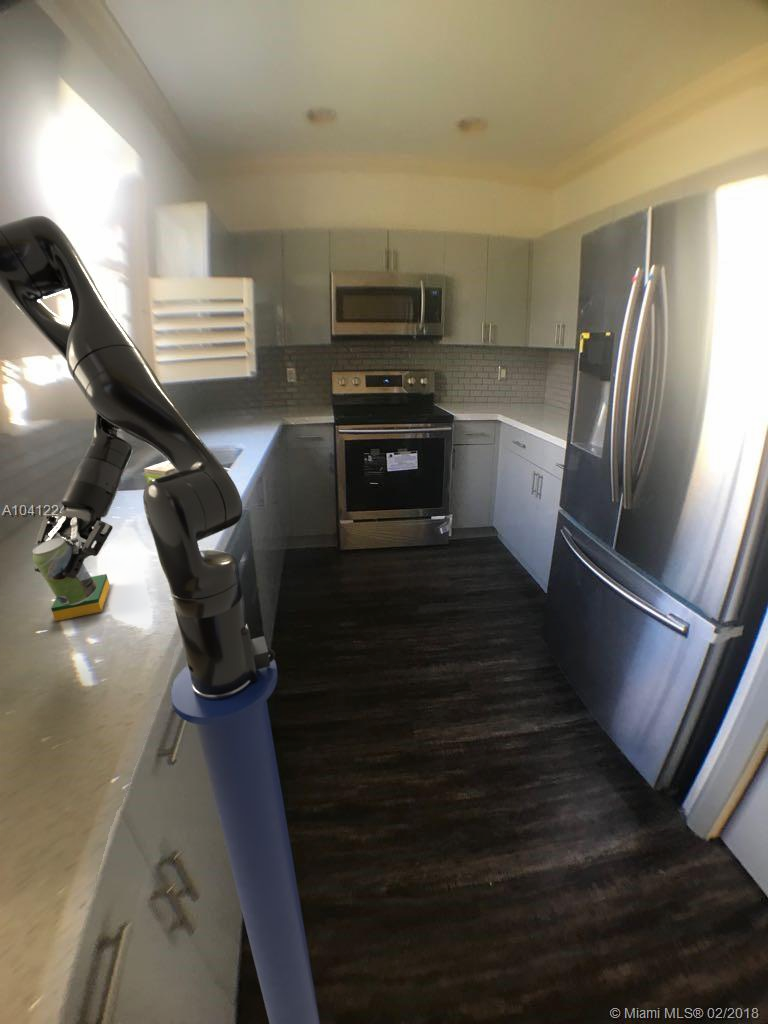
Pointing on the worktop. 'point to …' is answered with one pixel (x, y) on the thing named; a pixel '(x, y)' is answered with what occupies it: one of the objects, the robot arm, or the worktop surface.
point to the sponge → (87, 606)
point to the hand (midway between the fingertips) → (54, 574)
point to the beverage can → (51, 565)
